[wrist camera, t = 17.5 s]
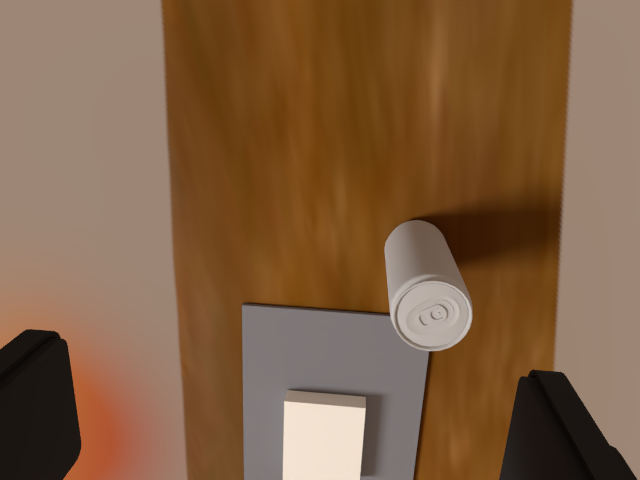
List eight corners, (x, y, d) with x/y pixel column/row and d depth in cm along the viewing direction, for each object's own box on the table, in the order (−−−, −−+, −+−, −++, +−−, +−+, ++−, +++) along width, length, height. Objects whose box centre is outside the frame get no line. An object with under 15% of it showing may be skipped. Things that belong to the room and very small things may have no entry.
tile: (284, 401, 44) (282, 483, 47) (365, 408, 44) (358, 491, 47) (287, 389, 46) (285, 469, 49) (365, 395, 45) (359, 476, 48)
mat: (243, 303, 44) (242, 305, 44) (432, 317, 43) (433, 319, 42) (245, 486, 50) (244, 490, 50) (409, 503, 49) (409, 506, 49)
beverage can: (455, 258, 41) (489, 333, 30) (401, 284, 42) (413, 365, 31) (428, 207, 40) (452, 264, 29) (373, 235, 41) (375, 300, 30)
